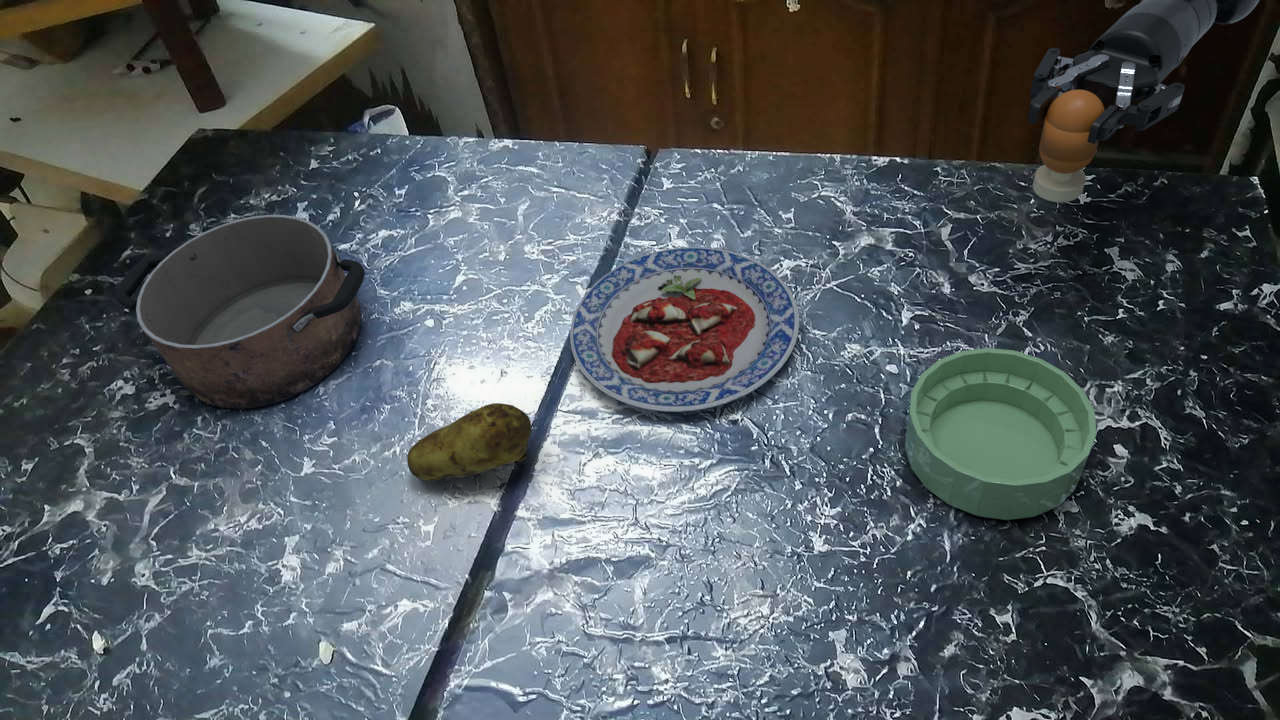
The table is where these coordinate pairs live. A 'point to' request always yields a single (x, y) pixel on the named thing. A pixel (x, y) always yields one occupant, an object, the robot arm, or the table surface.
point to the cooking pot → (249, 309)
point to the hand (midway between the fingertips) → (1063, 125)
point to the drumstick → (1066, 145)
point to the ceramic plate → (684, 329)
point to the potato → (472, 444)
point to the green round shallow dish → (998, 433)
